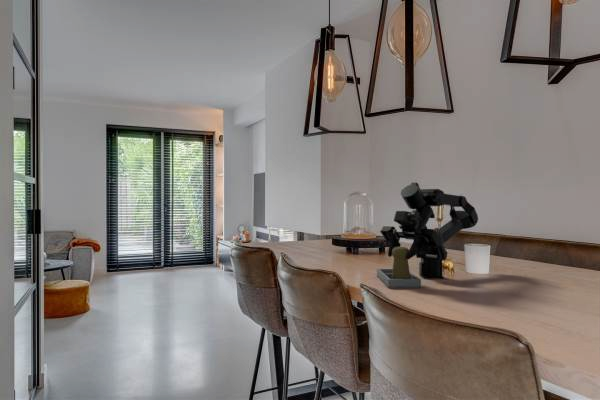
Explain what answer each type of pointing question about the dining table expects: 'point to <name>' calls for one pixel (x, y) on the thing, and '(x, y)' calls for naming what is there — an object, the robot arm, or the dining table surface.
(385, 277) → the grey divided tray
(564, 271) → the dining table surface
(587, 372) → the dining table surface
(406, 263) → the olive green upright block
